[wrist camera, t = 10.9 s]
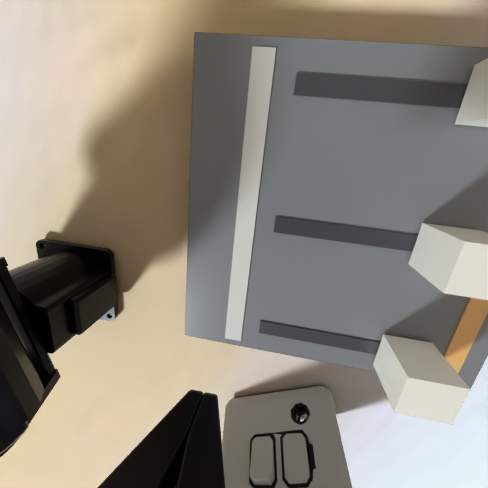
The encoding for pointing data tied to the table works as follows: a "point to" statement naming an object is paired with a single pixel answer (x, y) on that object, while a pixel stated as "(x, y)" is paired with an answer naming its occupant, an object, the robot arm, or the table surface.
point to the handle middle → (453, 259)
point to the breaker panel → (330, 196)
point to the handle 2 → (475, 98)
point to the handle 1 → (419, 379)
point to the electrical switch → (284, 441)
